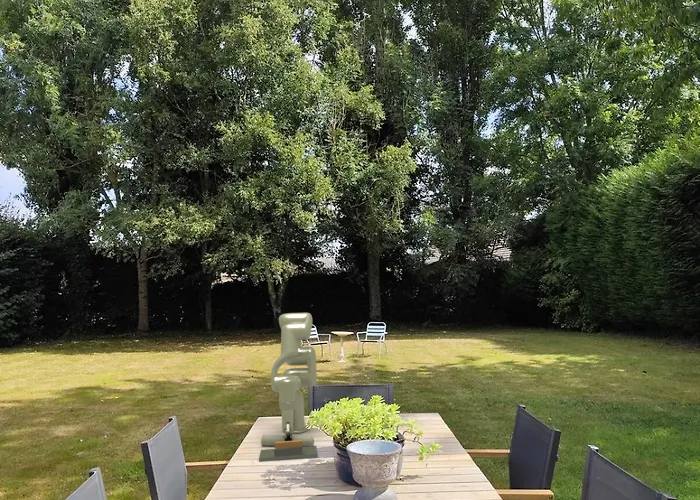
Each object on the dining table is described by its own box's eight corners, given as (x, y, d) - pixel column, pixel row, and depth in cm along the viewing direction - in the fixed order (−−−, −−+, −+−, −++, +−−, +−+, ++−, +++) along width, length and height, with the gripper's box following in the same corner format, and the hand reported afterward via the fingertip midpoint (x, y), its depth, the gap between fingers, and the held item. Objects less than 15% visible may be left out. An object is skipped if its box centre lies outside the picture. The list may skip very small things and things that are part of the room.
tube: (315, 435, 264) (265, 434, 269) (313, 435, 259) (261, 434, 264) (315, 447, 262) (264, 446, 267) (312, 447, 258) (260, 446, 262)
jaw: (275, 448, 254) (275, 442, 254) (302, 446, 255) (301, 440, 255) (275, 449, 253) (275, 442, 253) (302, 447, 254) (301, 441, 254)
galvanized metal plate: (260, 453, 253) (260, 443, 254) (316, 449, 256) (316, 439, 256) (259, 461, 241) (258, 450, 242) (317, 457, 244) (317, 446, 244)
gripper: (280, 402, 273) (281, 440, 271) (278, 409, 255) (280, 450, 254) (295, 401, 273) (297, 439, 272) (295, 408, 256) (297, 449, 255)
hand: (288, 444), depth 263 cm, fingers closed on tube, 5 cm apart
